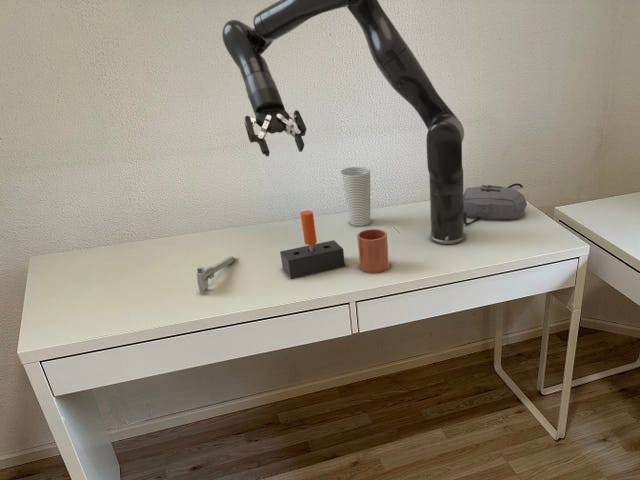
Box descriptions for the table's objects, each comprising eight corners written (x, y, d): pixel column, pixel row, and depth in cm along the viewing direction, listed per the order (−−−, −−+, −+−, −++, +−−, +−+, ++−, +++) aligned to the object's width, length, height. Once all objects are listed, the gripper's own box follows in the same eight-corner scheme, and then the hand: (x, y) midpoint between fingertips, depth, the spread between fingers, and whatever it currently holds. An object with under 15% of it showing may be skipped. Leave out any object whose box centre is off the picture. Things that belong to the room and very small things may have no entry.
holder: (282, 269, 174) (279, 251, 171) (335, 257, 181) (333, 240, 178) (290, 278, 169) (288, 260, 167) (345, 266, 176) (343, 248, 173)
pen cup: (369, 259, 180) (367, 227, 175) (394, 264, 177) (392, 231, 172) (354, 270, 174) (351, 237, 169) (379, 275, 172) (377, 242, 167)
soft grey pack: (458, 220, 204) (524, 224, 202) (458, 193, 199) (526, 197, 197) (466, 203, 216) (528, 206, 214) (466, 177, 212) (529, 180, 210)
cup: (350, 216, 206) (345, 166, 197) (377, 218, 205) (373, 167, 196) (342, 227, 199) (336, 175, 190) (370, 228, 198) (365, 176, 189)
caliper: (204, 294, 162) (199, 271, 158) (200, 294, 162) (194, 270, 159) (235, 259, 179) (231, 237, 176) (231, 259, 179) (227, 236, 176)
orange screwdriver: (312, 264, 177) (305, 209, 168) (322, 266, 176) (315, 211, 167) (305, 269, 174) (297, 213, 166) (315, 271, 173) (308, 215, 165)
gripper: (236, 89, 164) (257, 148, 162) (293, 83, 170) (314, 140, 168) (234, 107, 171) (255, 164, 169) (289, 101, 177) (310, 156, 175)
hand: (284, 152), depth 169 cm, fingers open, 8 cm apart
